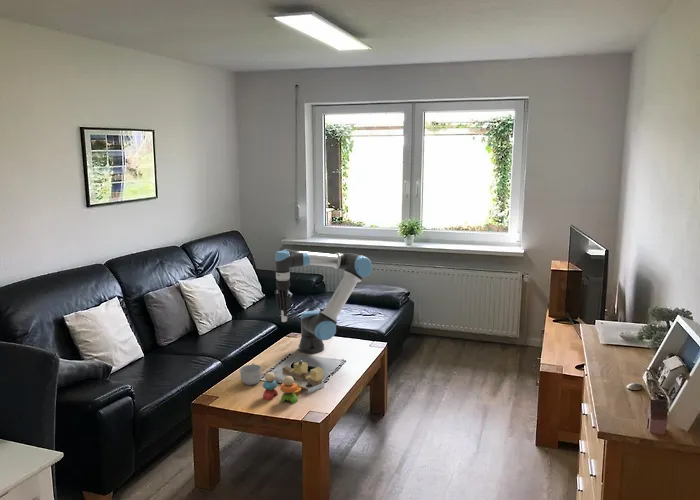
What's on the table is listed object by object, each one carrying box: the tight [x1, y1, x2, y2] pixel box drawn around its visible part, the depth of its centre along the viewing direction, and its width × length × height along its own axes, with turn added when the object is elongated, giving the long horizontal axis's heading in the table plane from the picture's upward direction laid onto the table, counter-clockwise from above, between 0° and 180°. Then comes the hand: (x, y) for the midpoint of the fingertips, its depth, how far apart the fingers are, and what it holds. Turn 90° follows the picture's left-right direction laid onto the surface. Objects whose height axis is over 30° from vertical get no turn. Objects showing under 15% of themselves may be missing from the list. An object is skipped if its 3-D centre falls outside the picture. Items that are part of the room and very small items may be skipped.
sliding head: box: [289, 359, 309, 379], centre depth 288 cm, size 10×5×8 cm, turn 138°
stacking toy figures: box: [262, 371, 302, 405], centre depth 273 cm, size 18×17×12 cm
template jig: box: [273, 366, 325, 395], centre depth 288 cm, size 11×27×9 cm, turn 48°
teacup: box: [239, 362, 263, 386], centre depth 291 cm, size 14×11×8 cm
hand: (284, 321), depth 312 cm, fingers closed
